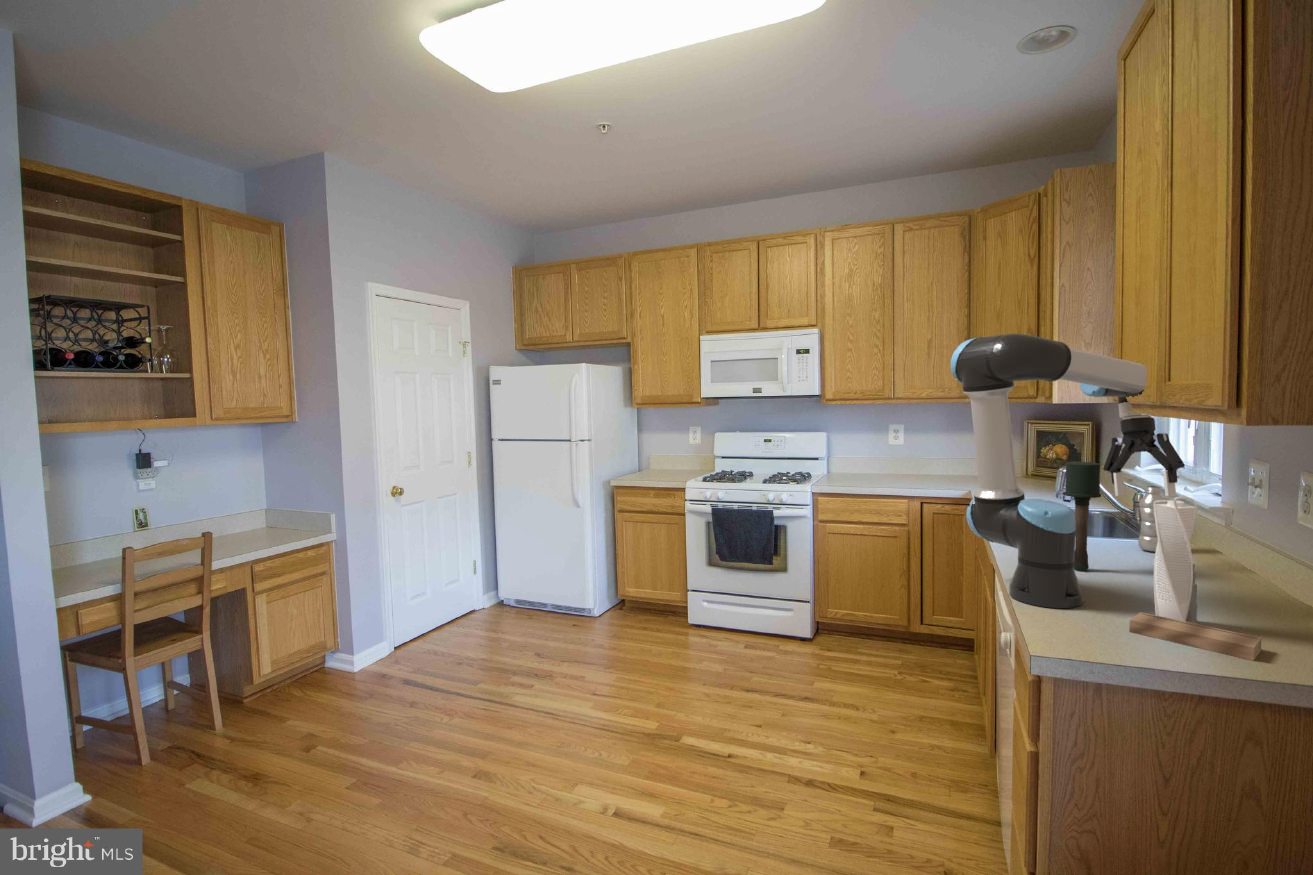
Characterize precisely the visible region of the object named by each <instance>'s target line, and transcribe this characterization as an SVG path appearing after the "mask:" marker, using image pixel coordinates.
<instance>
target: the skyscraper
mask: <svg viewBox="0 0 1313 875" xmlns="http://www.w3.org/2000/svg"><path fill="white" fill-rule="evenodd" d="M1180 499H1181V500H1188V501H1190V502H1191V503H1192V504H1193V505H1194V506H1193V505H1187V504H1185V501H1181V500H1180ZM1157 502H1166V504H1155V503H1157ZM1153 507H1154V516H1155V524H1156V531H1157V537H1158V542H1157V547H1156V552H1154V562H1153V563H1154V564H1153V594H1154V596H1153V598H1154V599H1153V600H1154V611H1155V615H1156V616H1161V617H1165V618H1170V619H1175V620H1180V621H1184V622H1189V623H1194V624H1199V622H1198V619H1197V618H1198V614H1197V613H1198V603H1197V597H1198V584H1197V583H1196V571H1195V566H1196V565H1195V563H1194V562H1193V554H1192V549H1191V543H1190V542H1191V538H1192V535H1193V530H1194V527H1195V523H1196V519H1197V514H1198V509H1199V506H1198V504H1197V502H1196V501H1195V500H1194V499H1193V498H1191V497H1188V496H1184V495H1183V496H1181V495H1180V496H1176V497H1175V496H1174V498H1173V500H1172V499H1164V500H1156V501H1154V502H1153Z"/></svg>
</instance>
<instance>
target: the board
mask: <svg viewBox="0 0 1313 875" xmlns="http://www.w3.org/2000/svg"><path fill="white" fill-rule="evenodd" d="M1128 630H1129V632H1130V633H1133V634H1138V635H1143V636H1146V637H1151V638H1154V639H1160V640H1164V641H1166V642H1167V641H1168V642H1173V643H1175V644H1176V643H1177V644H1181V645H1183V646H1184V645H1185V646H1189V647H1193V648H1198V649H1203V650H1206V651H1210V652H1215V653H1218V654H1223V655H1228V656H1232V657H1237V658H1241V659H1244V660H1249V661H1255V659H1256V658H1257V657H1258V655H1259V654H1260V653H1261V651H1262V637H1259V636H1255V635H1250V634H1245V633H1240V632H1236V631H1232V630H1226V629H1221V628H1217V627H1213V626H1207V625H1202V624H1199V623H1198V624H1194V623H1189V622H1184V621H1180V620H1175V619H1170V618H1165V617H1161V616H1156V614H1150V613H1146V612H1141V611H1140V612H1138V613H1137V614H1136V615H1135V616H1133V617H1131V619H1129V628H1128Z"/></svg>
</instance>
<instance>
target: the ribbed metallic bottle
mask: <svg viewBox="0 0 1313 875" xmlns="http://www.w3.org/2000/svg"><path fill="white" fill-rule="evenodd" d="M1144 492H1145V493H1146V494H1144V495H1143V497H1141V499H1140V500H1139V504H1138V505H1139V510H1140V511H1139V512H1140V520H1141V524H1140V525H1141V526H1140V532H1139V533H1140V534H1139V537H1138V541H1137V542H1138V546H1139V548H1140V549H1141V550H1143V551H1147V552H1150V553H1156V547H1157V542H1158V537H1157V531H1156V524H1155V516H1154V507H1153V502H1154V501H1156V500H1165V499H1164V497H1163V496H1162V495H1161V494H1162V486H1158V485H1157V486H1156V485H1146V486H1145V490H1144ZM1155 504H1167V502H1157V503H1155Z"/></svg>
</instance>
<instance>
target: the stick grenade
mask: <svg viewBox="0 0 1313 875" xmlns="http://www.w3.org/2000/svg"><path fill="white" fill-rule="evenodd" d="M1100 484H1101V464H1100V463H1098V462H1090V461H1068V462H1066V463H1065V491H1063V494H1064V496H1067V497H1071V498H1073V499H1074V505H1075V506H1074V514H1075V524H1076V533H1075V558H1074V571H1077V572H1087V571H1088V570H1089V568H1090V565H1089V554H1088V521H1089V516H1090V515H1089V514H1090V513H1089V512H1090V500H1091V499H1096V498H1101V497H1102V493H1101V492H1100V489H1101V487H1100V486H1101V485H1100Z"/></svg>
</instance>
